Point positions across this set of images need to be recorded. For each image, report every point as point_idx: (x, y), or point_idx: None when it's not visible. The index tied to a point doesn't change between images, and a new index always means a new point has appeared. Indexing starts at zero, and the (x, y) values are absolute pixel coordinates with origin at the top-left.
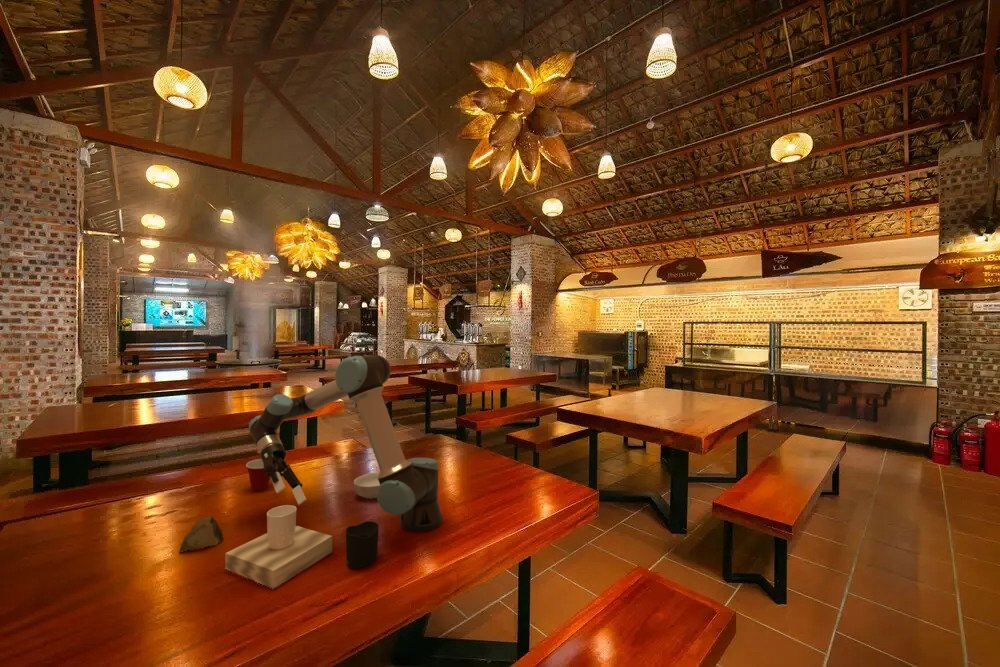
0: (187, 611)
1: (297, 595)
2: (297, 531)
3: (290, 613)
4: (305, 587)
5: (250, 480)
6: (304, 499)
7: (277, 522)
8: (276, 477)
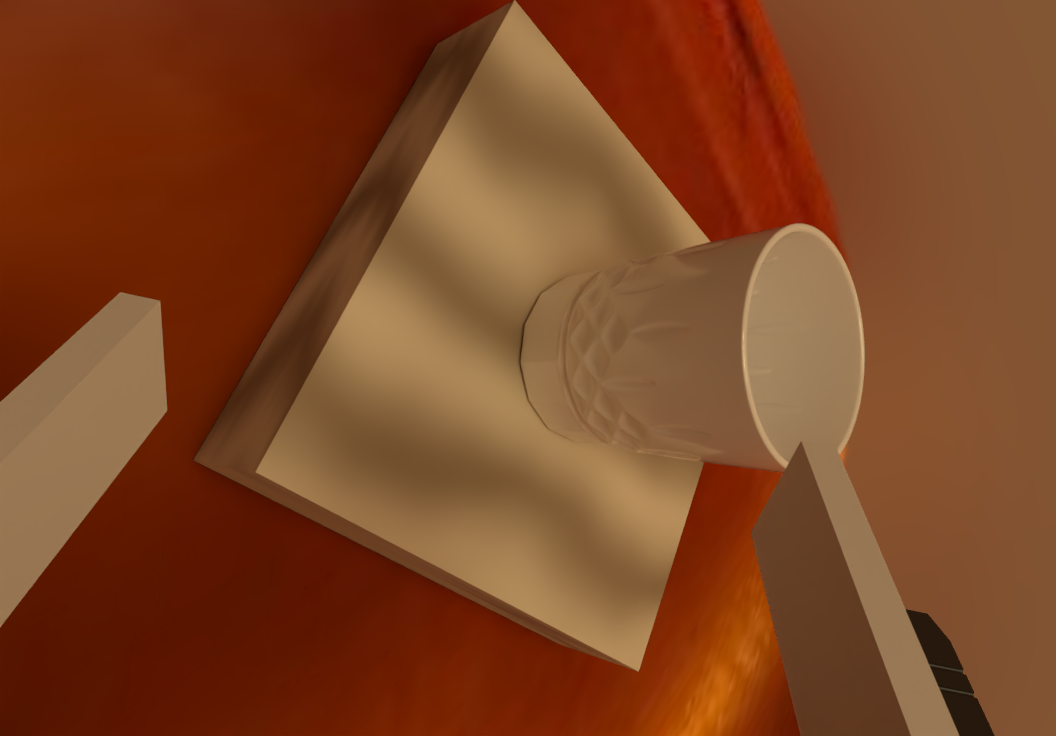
0: (742, 576)
1: (706, 189)
2: (431, 299)
3: (763, 194)
4: (674, 165)
5: None
6: (153, 322)
7: (816, 345)
8: (950, 652)
